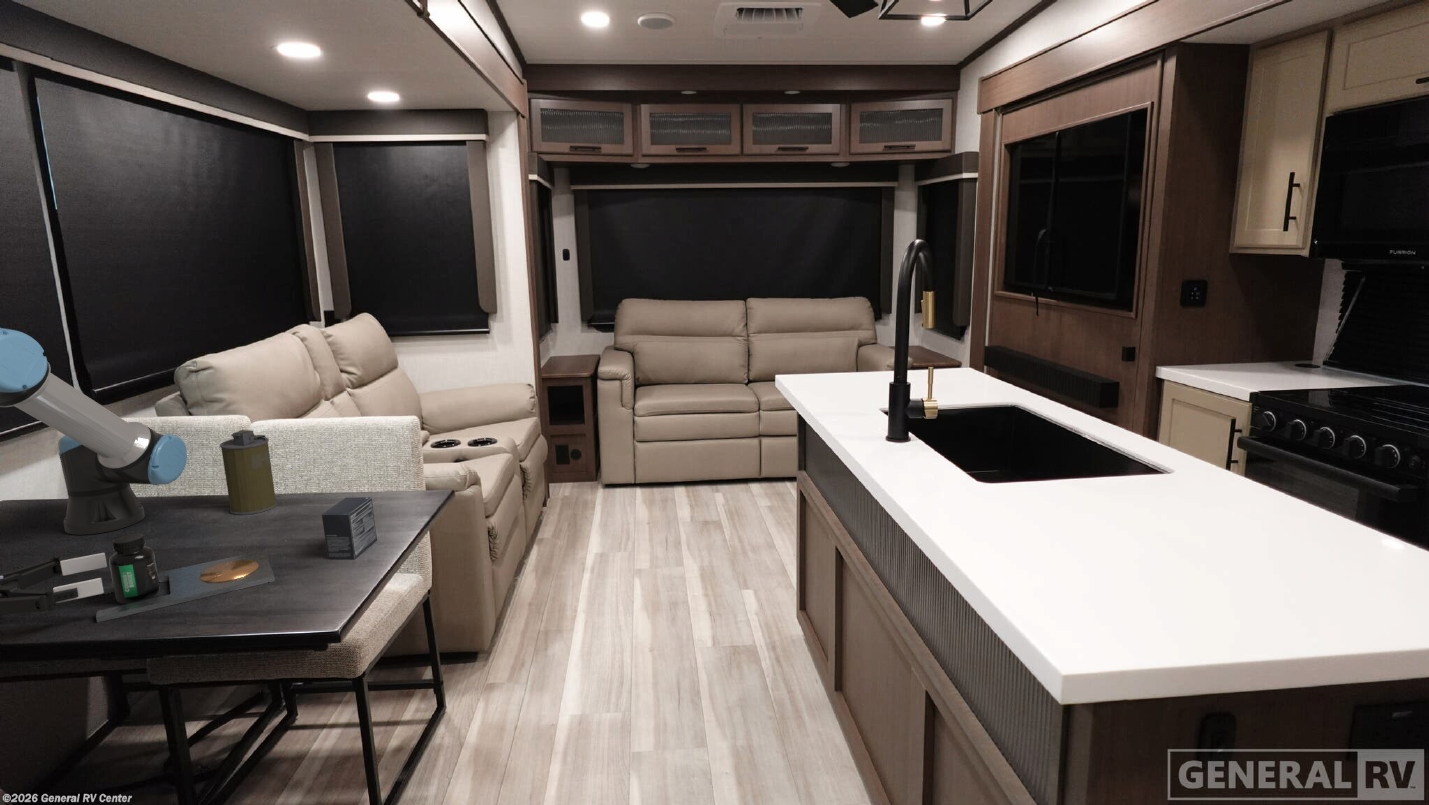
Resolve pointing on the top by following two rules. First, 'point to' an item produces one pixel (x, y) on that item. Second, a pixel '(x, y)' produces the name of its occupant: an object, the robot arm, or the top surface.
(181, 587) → the rail plate
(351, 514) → the small box
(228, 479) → the canister
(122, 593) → the supplement bottle
